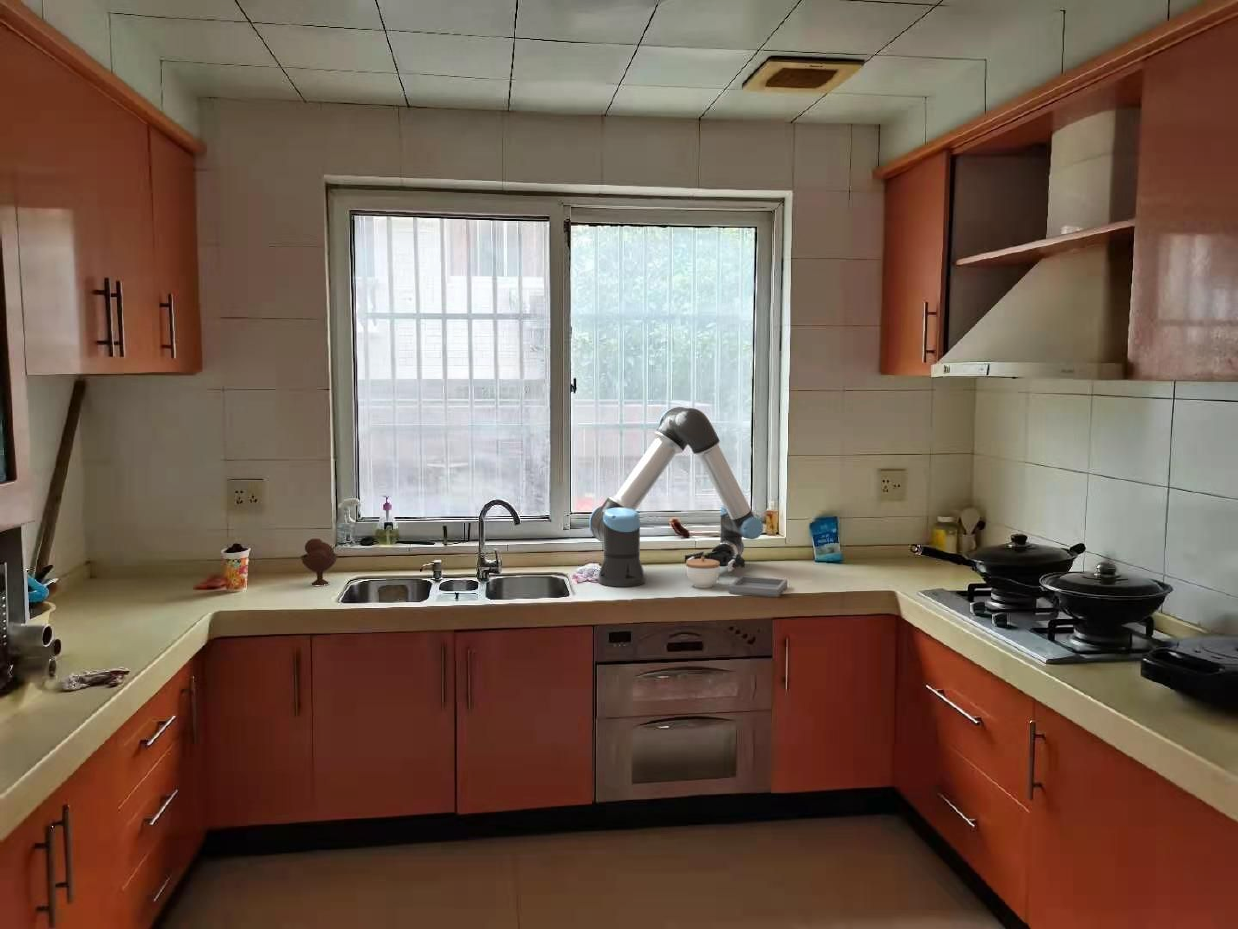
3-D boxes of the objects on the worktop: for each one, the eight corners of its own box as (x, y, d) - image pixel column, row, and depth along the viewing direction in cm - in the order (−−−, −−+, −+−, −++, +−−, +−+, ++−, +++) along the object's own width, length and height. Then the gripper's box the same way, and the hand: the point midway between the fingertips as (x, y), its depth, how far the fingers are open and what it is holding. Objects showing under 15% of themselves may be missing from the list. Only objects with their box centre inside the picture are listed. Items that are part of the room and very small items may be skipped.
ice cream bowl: (324, 589, 279) (322, 542, 277) (294, 586, 282) (293, 540, 281) (344, 582, 289) (343, 536, 287) (316, 579, 292) (314, 534, 291)
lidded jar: (719, 582, 288) (719, 553, 287) (719, 590, 277) (720, 560, 277) (686, 582, 289) (686, 553, 288) (685, 589, 278) (685, 559, 278)
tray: (729, 593, 272) (729, 585, 272) (740, 583, 286) (740, 575, 286) (777, 597, 267) (778, 589, 267) (787, 587, 281) (787, 579, 281)
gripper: (760, 567, 302) (746, 580, 282) (689, 562, 310) (670, 574, 291) (760, 545, 301) (746, 556, 281) (689, 541, 310) (671, 551, 290)
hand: (708, 565), depth 286 cm, fingers open, 13 cm apart
